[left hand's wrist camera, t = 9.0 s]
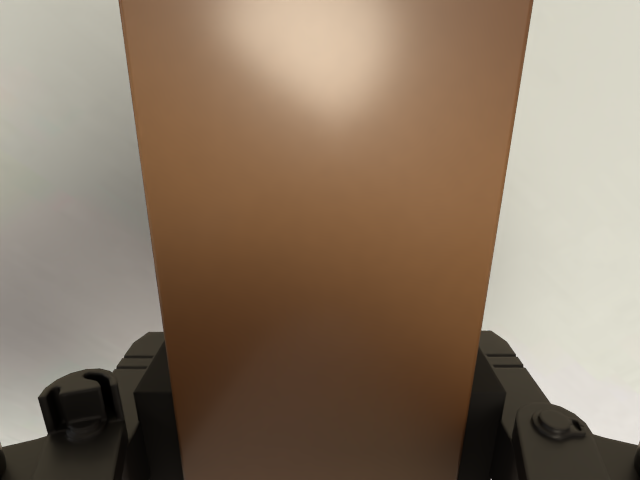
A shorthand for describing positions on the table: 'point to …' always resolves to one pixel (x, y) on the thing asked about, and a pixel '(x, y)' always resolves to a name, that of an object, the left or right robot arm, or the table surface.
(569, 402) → the table surface
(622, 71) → the table surface
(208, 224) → the post
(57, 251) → the table surface
